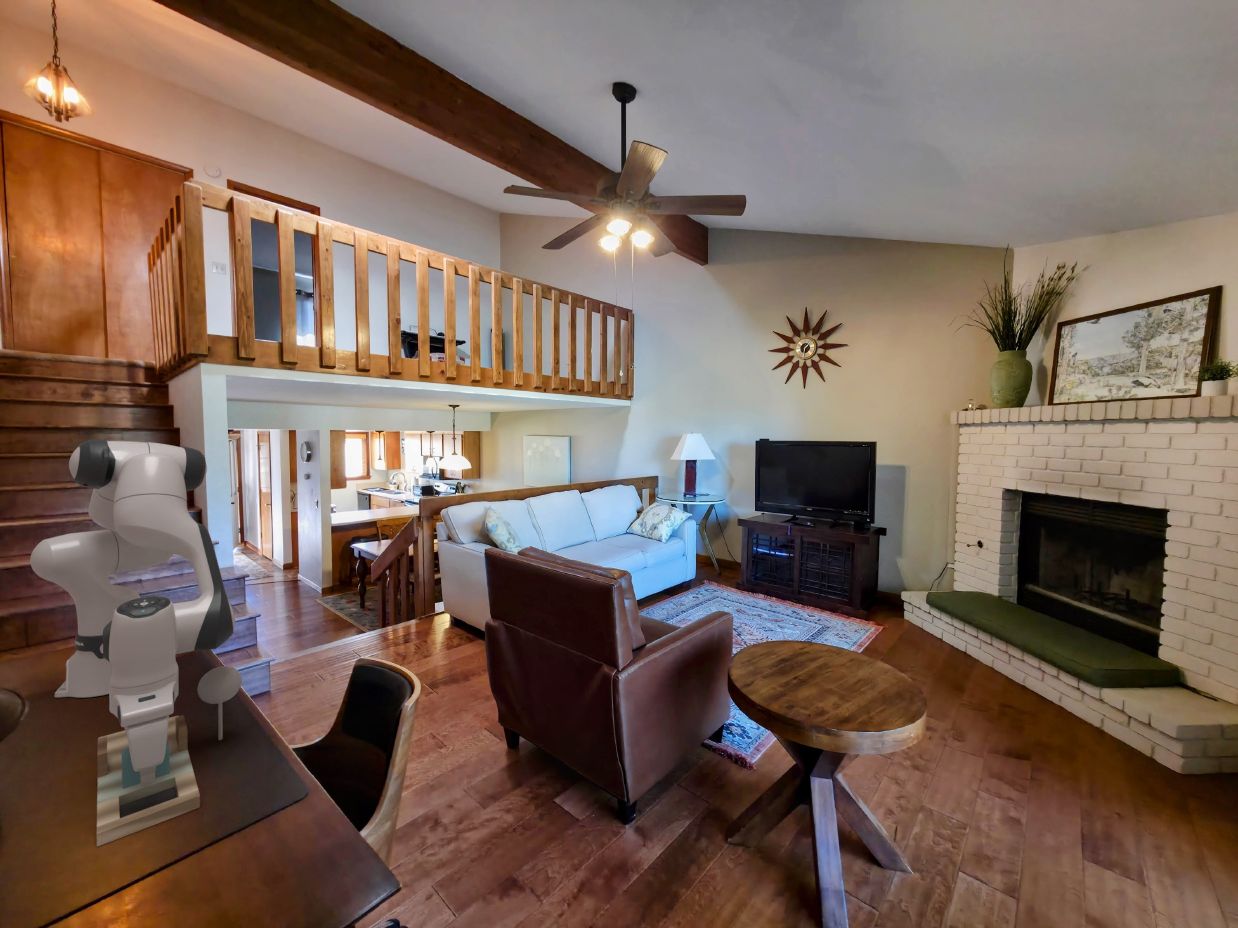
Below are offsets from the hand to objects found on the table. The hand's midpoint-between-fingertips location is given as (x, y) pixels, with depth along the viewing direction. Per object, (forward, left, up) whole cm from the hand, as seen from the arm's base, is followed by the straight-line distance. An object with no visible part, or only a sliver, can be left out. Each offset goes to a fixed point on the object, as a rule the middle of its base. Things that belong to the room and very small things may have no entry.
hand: (145, 769), depth 88 cm
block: (-1, 0, -1) cm, 2 cm away
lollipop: (-9, +12, -4) cm, 15 cm away
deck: (-5, 0, -3) cm, 6 cm away
